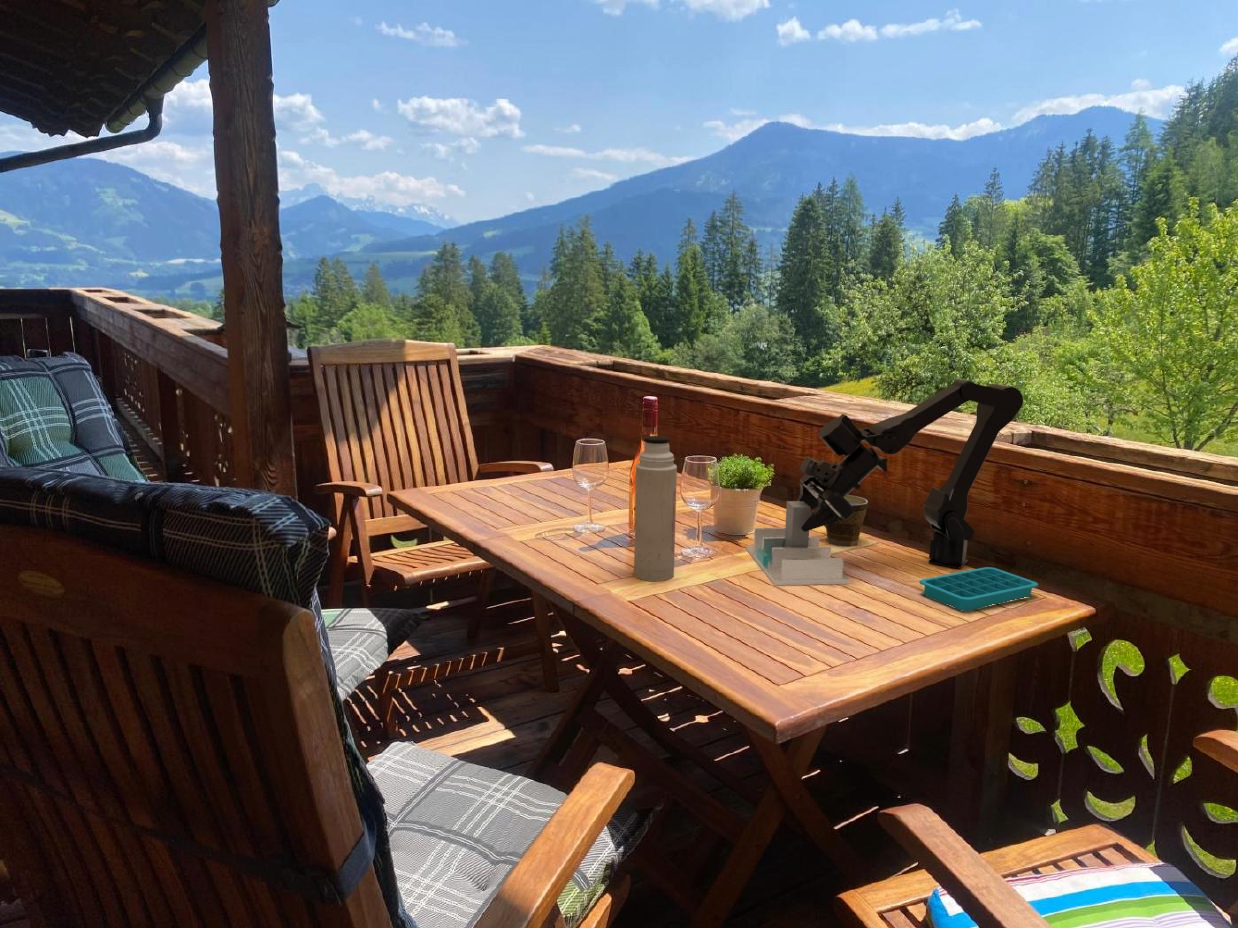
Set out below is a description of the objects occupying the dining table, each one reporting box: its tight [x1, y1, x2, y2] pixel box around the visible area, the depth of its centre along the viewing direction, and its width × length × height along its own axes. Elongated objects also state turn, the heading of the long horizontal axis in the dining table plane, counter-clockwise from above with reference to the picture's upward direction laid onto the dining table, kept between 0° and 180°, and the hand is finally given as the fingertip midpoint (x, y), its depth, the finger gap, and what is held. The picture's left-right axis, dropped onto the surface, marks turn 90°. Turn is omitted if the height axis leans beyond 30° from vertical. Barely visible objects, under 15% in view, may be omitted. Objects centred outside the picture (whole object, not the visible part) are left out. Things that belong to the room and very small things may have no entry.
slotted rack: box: [746, 527, 851, 586], centre depth 178 cm, size 15×23×5 cm, turn 5°
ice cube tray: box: [919, 566, 1039, 612], centre depth 162 cm, size 12×20×3 cm, turn 117°
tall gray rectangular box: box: [784, 500, 812, 548], centre depth 177 cm, size 4×5×12 cm
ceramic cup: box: [810, 494, 869, 547], centre depth 195 cm, size 13×10×10 cm
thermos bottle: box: [633, 435, 678, 582], centre depth 168 cm, size 8×8×28 cm
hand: (795, 524), depth 176 cm, fingers open, 9 cm apart
